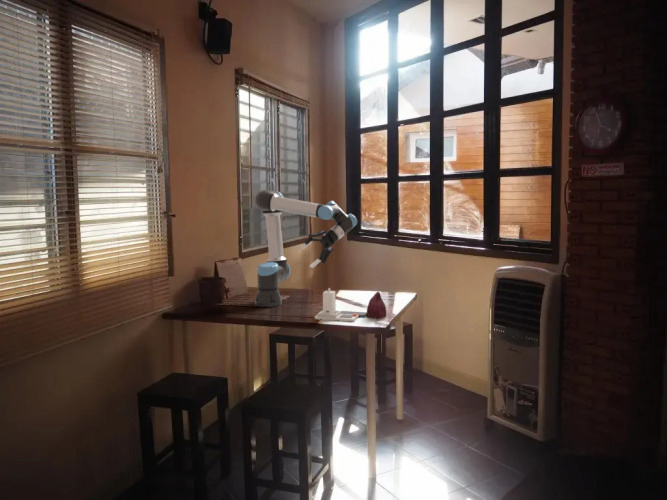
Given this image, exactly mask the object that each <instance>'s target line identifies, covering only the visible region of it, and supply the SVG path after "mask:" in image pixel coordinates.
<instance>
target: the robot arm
mask: <svg viewBox="0 0 667 500" xmlns="http://www.w3.org/2000/svg"><path fill="white" fill-rule="evenodd" d="M254 204H255V206H256V207H257V208H258V209H259V210H261V211H262V212H261V213H262V215H263V216H264V217H265V225H266V235H267V236H266V237H267V247H268V258H267V260H266V262H262V263H260V264H258V266H257V270H256V271H257V294H256V296H255V298H254V299H255V300H254V305H255V306H256V307H260V308H273V307H279V306H281V305H282V304H283V299H282V297H281V294H280V290H279V283H282V282H284V281H286V280H287V279H288V278H289V277H290V275H291V267H290V265H289V263H288V260H287V257H285V254H284V245H283V244H284V243H283V242H284V241H283V232H282V219H281V216H282V214H283V212H286V213H289V214H290V213H291V214H296V215H301V216H307V217H312V218H318V219H321V220H325V221H328V220H332V221H334V223H335V225H334V226H332V227H331V228H330V229H328V231H326V230H323V229H322V230H321V231H318V232H314V233H310V234H308V235H307V236H308V237H307V240H305V241H304V243H303V244H302V245H301V246H299V248H300V249H301V250H303V251H304V250H305V249H306V248H308V247H309V246H310V245H311V244H312V243H313V242H320V244H321V249H322V250H321V252H320V256H319V258H317V259H315V261H313V262H311V264H310V265H309V268H311V269H314V268H315V267H317V266H319V265H320V264H322V265H323V264H325V263H326V262H327V260H328V258H329V256H330V255H331V254H332V252H333V251H334V248H333V247H332V245H334V244H335V243H337V242H338V241H339V240H340V239H342V238H343V237H344V236H345V235H346V234H347V233H349V232H350V231H351V230H352V229H354V227H356V226H357V225H358V219H357V217H356V216H355V215H354V214H352V213H348V214H347V213H345V212H344V211H343V209H341V207H340V206H339V205H338V204H337V203H336V202H335V201H334V200H330V201H329V202H327V203H326V204H322V203H315V202H310V201H306V200H305V201H304V200H299V199H294V198H288V197H284V195H283V194H282V193H281V192H280V191H278V190H275V189H274V190H272V189H271V190H270V189H268V190H267V189H264V190H263V189H262V190H260V191H258V192H257V193H256V194H255V197H254ZM320 236H322V237H320Z"/></svg>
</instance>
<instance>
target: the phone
mask: <svg viewBox="0 0 667 500" xmlns="http://www.w3.org/2000/svg"><path fill="white" fill-rule="evenodd" d="M340 311H341V314H352V315H353V314H354V313H355V314H357V315H359V318H366V317H367V311H366V312H364V311H350V310H340Z"/></svg>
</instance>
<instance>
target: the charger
mask: <svg viewBox="0 0 667 500" xmlns="http://www.w3.org/2000/svg"><path fill="white" fill-rule="evenodd" d="M322 310H323V314H332V315H335V314H336V311H337V310H336V290H331V287H329V288H327V290H325V291H323V292H322Z"/></svg>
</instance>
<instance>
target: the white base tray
mask: <svg viewBox="0 0 667 500" xmlns="http://www.w3.org/2000/svg"><path fill="white" fill-rule="evenodd" d="M341 311H342V310H336V314H335V315H332V314H323V309H321V311H320V312H319V311H318V313H317V314H316V315H315V316H314V320H320V319H322V320H321V321H334V320H340V321H339V322H348V321H354V322H356V320H357V319H359V318H360V317H359V315H357V314H355V313H354V314H353V315H352V314H341Z"/></svg>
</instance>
